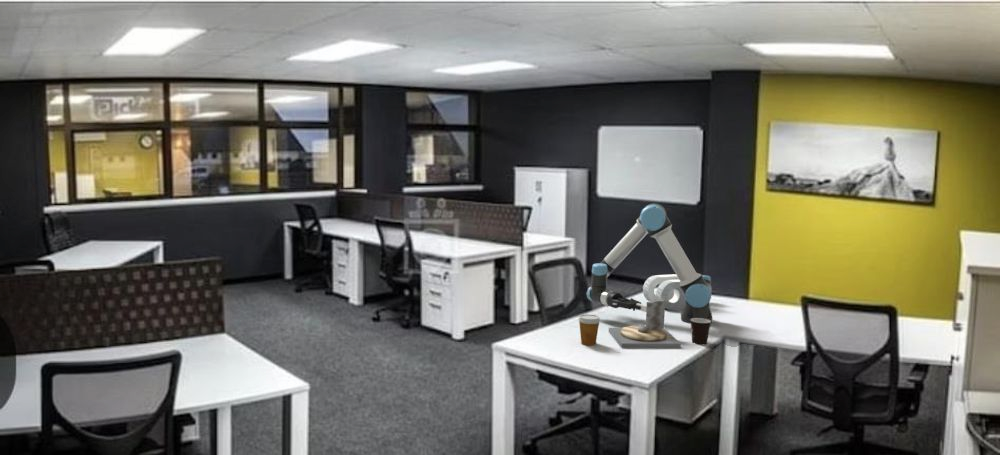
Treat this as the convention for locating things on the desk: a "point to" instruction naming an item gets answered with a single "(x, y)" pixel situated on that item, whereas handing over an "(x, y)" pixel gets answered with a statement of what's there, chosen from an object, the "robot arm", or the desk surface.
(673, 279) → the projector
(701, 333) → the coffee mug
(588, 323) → the disposable coffee cup
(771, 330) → the desk surface
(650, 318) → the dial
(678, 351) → the desk surface
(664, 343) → the base
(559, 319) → the desk surface
